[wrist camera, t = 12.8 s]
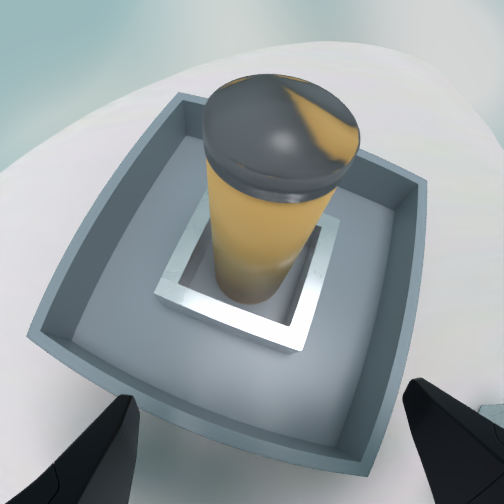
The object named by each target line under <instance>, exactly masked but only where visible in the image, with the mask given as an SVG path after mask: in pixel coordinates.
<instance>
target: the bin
mask: <svg viewBox="0 0 504 504" xmlns="http://www.w3.org/2000/svg"><path fill="white" fill-rule="evenodd" d="M207 100H208V98H203V97H199V96H194V95H190V94H185V93H180V92H178V93H177V95H176V96H175V97H174V98H173V99H172V100H171V101H170V102H169V104H168V105H167V106H166V107H165V108H164V109H163V111H162V112H161V113H160V114H159V115H158V116H157V118H156V119H155V120H154V121H153V122H152V124H151V125H150V126H149V127H148V129H147V130H146V131H145V132H144V134H143V135H142V136H141V137H140V139H139V140H138V141H137V143H136V144H135V145H134V147H133V148H132V149H131V150H130V152H129V153H128V154H127V156H126V157H125V159H124V160H123V161H122V163H121V164H120V165H119V167H118V168H117V170H116V171H115V173H114V174H113V175H112V177H111V178H110V180H109V181H108V183H107V184H106V186H105V187H104V189H103V190H102V192H101V193H100V195H99V196H98V198H97V199H96V201H95V202H94V204H93V206H92V207H91V209H90V210H89V212H88V214H87V215H86V217H85V218H84V220H83V222H82V223H81V225H80V227H79V229H78V230H77V232H76V234H75V235H74V237H73V239H72V241H71V243H70V244H69V246H68V248H67V250H66V252H65V253H64V255H63V257H62V259H61V261H60V263H59V265H58V267H57V269H56V271H55V273H54V275H53V277H52V279H51V281H50V283H49V285H48V287H47V289H46V291H45V293H44V296H43V298H42V300H41V302H40V304H39V307H38V309H37V311H36V314H35V316H34V318H33V321H32V323H31V326H30V328H29V330H28V333H27V336H26V337H27V338H29V339H30V340H31V341H33V342H34V343H35V344H37V345H38V346H39V347H41V348H42V349H43V350H45V351H46V352H47V353H49V354H50V355H52V356H53V357H54V358H56V359H57V360H59V361H60V362H62V363H63V364H65V365H66V366H68V367H69V368H71V369H72V370H74V371H75V372H77V373H78V374H80V375H82V376H83V377H85V378H86V379H88V380H90V381H91V382H93V383H95V384H96V385H98V386H100V387H101V388H103V389H105V390H107V391H108V392H110V393H112V394H114V395H115V396H117V397H118V396H119V395H120V394H128V395H133V396H134V398H135V401H136V403H137V406H138V408H140V409H142V410H144V411H146V412H148V413H150V414H152V415H155V416H157V417H159V418H161V419H163V420H165V421H168V422H170V423H172V424H174V425H177V426H179V427H181V428H184V429H186V430H189V431H191V432H193V433H196V434H199V435H201V436H204V437H206V438H209V439H212V440H214V441H217V442H220V443H223V444H226V445H229V446H232V447H235V448H238V449H241V450H244V451H247V452H250V453H254V454H257V455H260V456H264V457H268V458H271V459H275V460H279V461H283V462H287V463H291V464H295V465H300V466H304V467H309V468H314V469H319V470H324V471H330V472H336V473H342V474H349V475H356V476H364V477H368V475H369V473H370V471H371V468H372V466H373V463H374V461H375V458H376V456H377V453H378V451H379V448H380V445H381V443H382V440H383V437H384V435H385V432H386V429H387V426H388V423H389V420H390V417H391V414H392V411H393V408H394V404H395V401H396V398H397V394H398V391H399V387H400V384H401V380H402V376H403V372H404V368H405V364H406V360H407V356H408V351H409V347H410V342H411V337H412V333H413V327H414V322H415V317H416V311H417V305H418V298H419V291H420V284H421V276H422V268H423V258H424V247H425V234H426V216H427V180H425V179H423V178H421V177H419V176H417V175H415V174H413V173H411V172H409V171H407V170H405V169H403V168H401V167H399V166H397V165H395V164H393V163H391V162H389V161H386V160H384V159H382V158H380V157H378V156H375V155H373V154H371V153H369V152H366V151H364V150H362V149H359V151H358V153H357V155H356V157H355V159H354V161H353V162H352V164H351V166H350V168H349V170H348V172H347V173H346V175H345V177H344V179H343V180H342V181H341V183H340V184H339V185H338V186H337V188H336V190H335V192H334V194H333V195H332V197H331V199H330V201H329V203H328V204H327V206H326V208H325V210H324V211H323V213H325V214H327V215H330V216H332V217H335V218H337V219H340V223H339V227H338V231H337V235H336V238H335V242H334V246H333V250H332V253H331V257H330V261H329V264H328V268H327V271H326V275H325V278H324V282H323V285H322V289H321V292H320V295H319V299H318V302H317V305H316V308H315V311H314V315H313V318H312V321H311V324H310V327H309V330H308V333H307V336H306V339H305V342H304V345H303V348H302V351H301V352H297V353H294V354H291V355H289V354H286V353H283V352H280V351H277V350H274V349H272V348H269V347H266V346H263V345H261V344H258V343H255V342H252V341H250V340H247V339H244V338H242V337H239V336H237V335H234V334H231V333H229V332H226V331H224V330H221V329H219V328H216V327H214V326H211V325H209V324H206V323H204V322H202V321H199V320H197V319H194V318H192V317H190V316H187V315H185V314H183V313H180V312H178V311H176V310H173V309H171V308H169V307H167V306H164V305H163V304H162V302H161V301H160V300H159V299H158V298H157V296H156V295H155V294H154V291H155V289H156V287H157V285H158V283H159V281H160V279H161V277H162V275H163V272H164V270H165V268H166V266H167V264H168V262H169V260H170V258H171V256H172V254H173V252H174V250H175V248H176V246H177V244H178V242H179V240H180V238H181V236H182V235H183V233H184V231H185V229H186V227H187V225H188V223H189V221H190V219H191V217H192V215H193V214H194V212H195V210H196V208H197V206H198V204H199V202H200V201H201V199H202V197H203V195H204V193H205V191H206V190H207V188H208V180H207V166H206V156H205V151H204V145H203V128H202V113H203V109H204V106H205V104H206V102H207ZM308 250H309V247H308V246H306V245H304V247H303V248H302V250H301V252H300V253H299V255H298V257H297V259H296V260H295V262H294V264H293V265H292V267H291V269H290V270H289V272H288V274H287V275H286V277H285V279H284V280H283V282H282V284H281V286H280V287H279V289H278V290H277V292H276V293H275V294H274V295H273V296H272V297H271V298H269V299H268V300H266V301H264V302H262V303H258V304H252V305H250V304H241V303H238V302H236V301H233V300H232V299H230V298H229V297H227V296H226V295H225V294H224V293H223V292H222V290H221V289H220V287H219V285H218V283H217V280H216V275H215V265H214V254H213V243H212V239H211V241H210V243H209V245H208V248H207V250H206V252H205V254H204V256H203V258H202V260H201V263H200V265H199V267H198V269H197V271H196V273H195V276H194V278H193V280H192V282H191V284H190V287H189V289H191V290H194V291H196V292H199V293H201V294H204V295H206V296H209V297H211V298H214V299H216V300H219V301H221V302H224V303H226V304H229V305H231V306H234V307H236V308H239V309H242V310H244V311H247V312H249V313H252V314H255V315H257V316H260V317H263V318H265V319H268V320H271V321H273V322H276V323H279V324H282V325H284V322H285V320H286V317H287V314H288V311H289V308H290V305H291V302H292V299H293V296H294V293H295V290H296V287H297V284H298V281H299V278H300V275H301V272H302V269H303V266H304V263H305V260H306V257H307V253H308Z"/></svg>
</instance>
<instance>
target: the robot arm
mask: <svg viewBox="0 0 504 504" xmlns="http://www.w3.org/2000/svg"><path fill="white" fill-rule="evenodd" d="M402 399H403V404H404V408H405V411H406V415H407V419H408V423H409V427H410V430H411V434H412V437H413V440H414V443H415V445H416V448H417V451H418V454H419V456H420V459H421V462H422V465H423V468H424V470H425V473H426V476H427V479H428V482H429V485H430V488H431V491H432V494H433V498H434V501H435V504H504V428H502V427H500V426H499V425H497V424H496V423H493V422H492V421H491V420H489V419H487V418H486V417H484V416H482V415H481V414H479V413H478V412H476V411H474V410H473V409H471V408H470V407H468V406H466V405H465V404H463V403H461V402H460V401H458V400H457V399H455V398H453V397H452V396H450V395H449V394H447V393H445V392H444V391H442V390H441V389H439V388H438V387H436V386H434V385H433V384H431V383H430V382H428V381H426V380H425V379H423V378H415V379H412V380H411V381H410V382H409V384H408V386H407V388H406V390H405V392H404V394H403V398H402ZM139 420H140V413H139V409H138V406H137V403H136V401H135V398H134V396H133V395H128V394H120V395H119V396H118V397H117V398H116V399H115V400H114V401H113V402H112V403H111V404H110V405H109V406H108V407H107V408H106V409H105V410H104V411H103V412H102V413H101V414H100V415H99V416H98V418H97V419H96V420H95V421H94V422H93V423H92V424H91V425H90V426H89V427H88V428H87V429H86V430H85V431H84V432H83V433H82V434H81V435H80V436H79V437H78V438H77V439H76V440H75V441H74V442H73V443H72V444H71V445H70V446H69V447H68V448H67V449H66V450H65V451H64V452H63V453H62V454H61V455H60V456H59V457H58V458H57V460H56V461H55V462H54V463H53V464H51V466H50V467H49V468H48V469H47V470H46V471H45V472H43V473H42V474H41V475H40V476H39V477H38V478H37V479H36V480H35V481H34V482H32V483H31V484H30V485H29V486H28V487H26V488H25V489H24V490H23V491H21V492H20V493H19V494H17V495H16V496H15V497H13V498H12V499H11V500H9V501H8V502H7V503H5V504H128V502H129V496H130V490H131V484H132V479H133V474H134V468H135V463H136V456H137V443H138V431H139Z"/></svg>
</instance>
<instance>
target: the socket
mask: <svg viewBox="0 0 504 504" xmlns="http://www.w3.org/2000/svg"><path fill="white" fill-rule="evenodd" d="M339 223H340V219H337V218H335V217H332V216H330V215H327V214H325V213H322V215H321V217H320V219H319V220H318V222H317V224H316V226H315V227H314V229H313V231H312V233H311V234H310V236H309V238H308V240H307V241H306V243H305V245H306V246H308V247H309V250H308V253H307V257H306V260H305V263H304V266H303V269H302V272H301V275H300V278H299V281H298V284H297V287H296V290H295V293H294V296H293V299H292V302H291V305H290V308H289V311H288V314H287V317H286V320H285V322H284V325H282V324H279V323H276V322H273V321H271V320H268V319H265V318H263V317H260V316H257V315H255V314H252V313H249V312H247V311H244V310H242V309H239V308H236V307H234V306H231V305H229V304H226V303H224V302H221V301H219V300H216V299H214V298H211V297H209V296H206V295H204V294H201V293H199V292H196V291H194V290H191V289H189V287H190V284H191V282H192V280H193V278H194V276H195V273H196V271H197V269H198V267H199V265H200V263H201V260H202V258H203V256H204V254H205V252H206V250H207V248H208V245H209V243H210V241H211V239H212V232H211V220H210V208H209V194H208V188H207V190H206V191H205V193H204V195H203V197H202V199H201V201H200V202H199V204H198V206H197V208H196V210H195V212H194V214H193V215H192V217H191V219H190V221H189V223H188V225H187V227H186V229H185V231H184V233H183V235H182V236H181V238H180V240H179V242H178V244H177V246H176V248H175V250H174V252H173V254H172V256H171V258H170V260H169V262H168V264H167V266H166V268H165V270H164V272H163V275H162V277H161V279H160V281H159V283H158V285H157V287H156V289H155V291H154V294H155V295H156V296H157V298H158V299H159V300H160V301H161V302H162V304H163V305H164V306H167V307H169V308H171V309H173V310H176V311H178V312H180V313H183V314H185V315H187V316H190V317H192V318H194V319H197V320H199V321H202V322H204V323H206V324H209V325H211V326H214V327H216V328H219V329H221V330H224V331H226V332H229V333H231V334H234V335H237V336H239V337H242V338H244V339H247V340H250V341H252V342H255V343H258V344H261V345H263V346H266V347H269V348H272V349H274V350H277V351H280V352H283V353H286V354H289V355H291V354H294V353H297V352H301V351H302V348H303V345H304V342H305V339H306V336H307V333H308V330H309V327H310V324H311V321H312V318H313V315H314V311H315V308H316V305H317V302H318V299H319V295H320V292H321V289H322V285H323V282H324V278H325V275H326V271H327V268H328V264H329V261H330V257H331V253H332V250H333V246H334V242H335V238H336V235H337V231H338V227H339Z"/></svg>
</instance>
